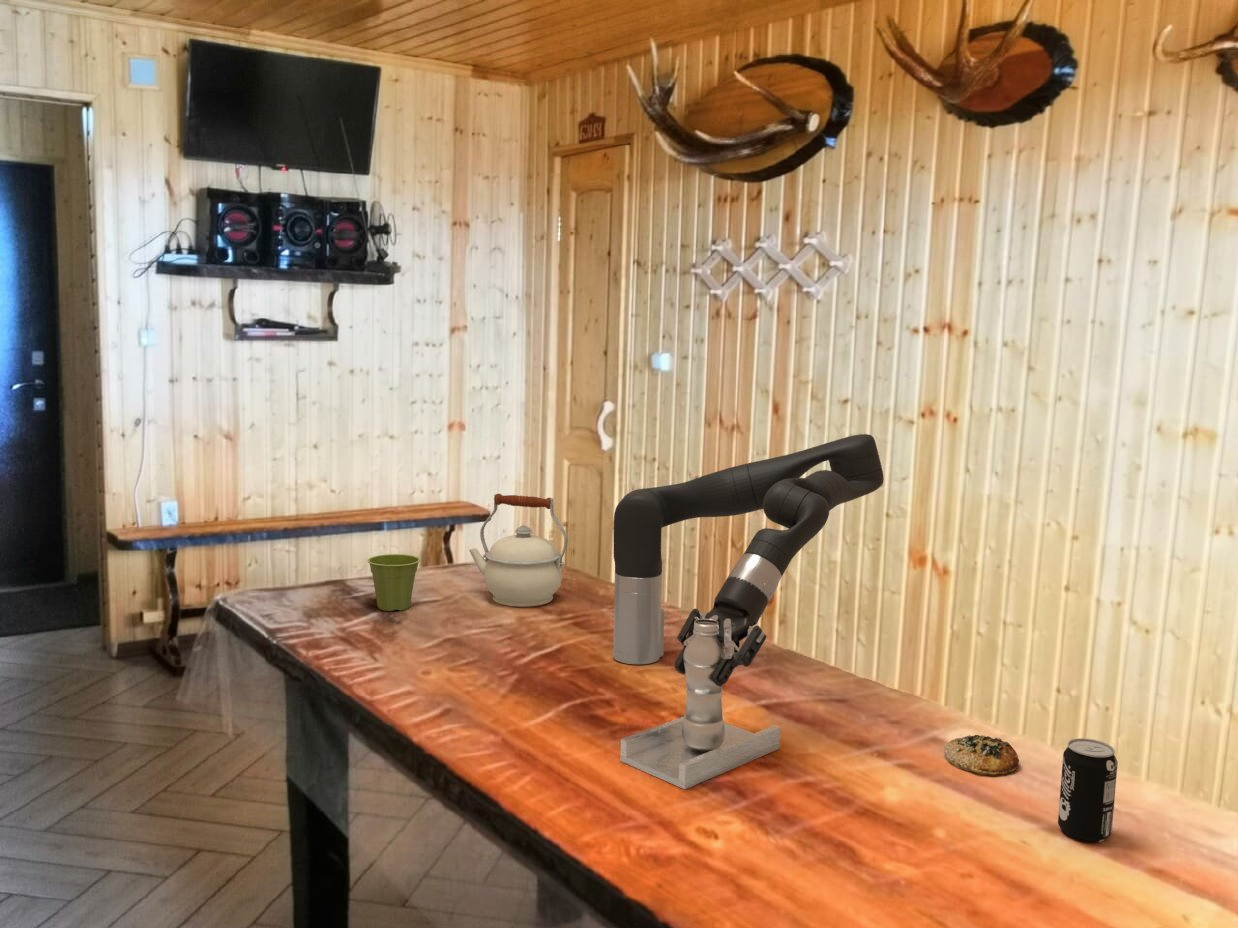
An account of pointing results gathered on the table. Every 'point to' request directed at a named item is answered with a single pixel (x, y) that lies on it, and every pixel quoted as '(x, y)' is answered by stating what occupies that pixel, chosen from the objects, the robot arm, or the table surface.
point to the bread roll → (982, 755)
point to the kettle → (521, 560)
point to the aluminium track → (694, 752)
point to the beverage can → (1087, 790)
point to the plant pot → (393, 580)
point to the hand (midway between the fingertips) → (697, 676)
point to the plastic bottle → (703, 688)
